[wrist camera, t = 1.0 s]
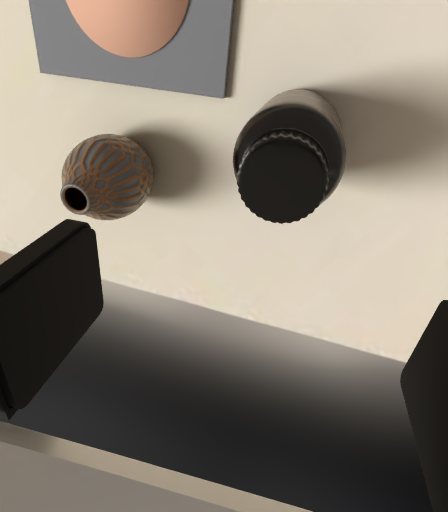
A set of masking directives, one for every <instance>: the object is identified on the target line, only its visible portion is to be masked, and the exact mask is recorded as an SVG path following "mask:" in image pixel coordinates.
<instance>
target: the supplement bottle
mask: <svg viewBox="0 0 448 512" xmlns="http://www.w3.org/2000/svg"><path fill="white" fill-rule="evenodd" d="M345 161H346V151H345V144H344V139H343V134H342V130H341V125H340V121H339V118H338V116H337V113H336V111H335V109H334V108H333V106H332V105H331V104H330V103H329V101H327V100H326V99H325V98H324V97H322V96H321V95H319V94H317V93H315V92H313V91H309V90H303V89H295V90H289V91H286V92H283V93H281V94H278V95H277V96H275V97H274V98H272V99H271V100H270V101H268V102H267V103H266V104H265V105H264V106H263V107H262V108H261V109H260V110H259V111H258V112H257V113H256V114H255V115H254V116H253V117H252V118H251V119H250V120H249V121H248V122H247V123H246V125H245V126H244V128H243V129H242V131H241V132H240V134H239V136H238V138H237V141H236V144H235V148H234V153H233V167H234V173H235V177H236V180H237V185H238V187H239V189H238V192H239V193H240V194H241V199H242V200H243V201H244V202H245V205H246V207H248V208H249V209H250V211H251V212H252V213H255V214H256V215H257V216H258V217H261V218H263V219H264V220H266V221H271V222H273V223H276V222H278V223H281V224H282V223H285V222H286V223H291V222H293V221H299V220H300V219H301V218H305V217H307V216H308V214H310V213H313V211H314V209H315V208H317V207H318V206H319V205H320V204H322V203H323V202H324V201H325V200H326V199H327V198H329V197H330V195H331V194H332V193H333V192H334V191H335V189H336V188H337V186H338V184H339V183H340V180H341V178H342V175H343V172H344V168H345Z"/></svg>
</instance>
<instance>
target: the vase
mask: <svg viewBox="0 0 448 512" xmlns="http://www.w3.org/2000/svg"><path fill="white" fill-rule="evenodd" d="M152 185H153V168H152V164H151V161H150V159H149V157H148V155H147V154H146V152H145V151H144V150H143V149H142V148H141V147H140V146H139V145H138V144H137V143H135V142H134V141H132V140H130V139H128V138H126V137H124V136H120V135H115V134H102V135H97V136H94V137H91V138H88V139H86V140H84V141H83V142H81V143H80V144H78V145H77V146H76V147H75V148H74V149H73V150H72V151H71V153H70V154H69V155H68V157H67V159H66V160H65V163H64V165H63V169H62V186H63V187H62V189H61V193H60V195H61V200H62V202H63V204H64V205H65V207H66V208H67V209H68V210H69V211H71V212H73V213H75V214H80V215H83V214H84V215H86V216H89V217H91V218H94V219H99V220H114V219H119V218H122V217H125V216H127V215H129V214H131V213H133V212H134V211H136V210H137V209H138V208H139V207H140V206H141V205H142V204H143V203H144V202H145V201H146V199H147V198H148V196H149V194H150V191H151V189H152Z"/></svg>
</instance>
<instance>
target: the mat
mask: <svg viewBox="0 0 448 512" xmlns="http://www.w3.org/2000/svg"><path fill="white" fill-rule="evenodd" d="M29 5H30V12H31V18H32V24H33V30H34V36H35V42H36V48H37V55H38V61H39V67H40V73H46V74H53V75H60V76H67V77H74V78H81V79H89V80H96V81H103V82H110V83H117V84H124V85H131V86H138V87H145V88H152V89H159V90H166V91H173V92H181V93H188V94H195V95H202V96H209V97H216V98H223V99H224V98H225V94H226V83H227V72H228V61H229V51H230V40H231V29H232V18H233V7H234V0H29Z"/></svg>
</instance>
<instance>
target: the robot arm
mask: <svg viewBox="0 0 448 512" xmlns="http://www.w3.org/2000/svg"><path fill="white" fill-rule="evenodd" d="M102 308H103V294H102V285H101V276H100V267H99V258H98V250H97V241H96V233H95V231H94V230H93V229H91V227H90V225H89V224H88V223H86V222H81V221H76V220H71V219H66V220H64V221H63V222H61V223H60V224H58V225H57V226H55V227H54V228H53V229H51V230H50V231H48V232H47V233H45V234H44V235H42V236H41V237H40V238H38V239H37V240H35V241H34V242H32V243H31V244H30V245H28V246H27V247H25V248H24V249H22V250H21V251H19V252H18V253H17V254H15V255H14V256H12V257H11V258H10V259H8V260H7V261H5V262H4V263H2V264H1V265H0V418H1V419H4V420H8V421H9V420H10V419H11V417H12V416H13V415H14V414H15V412H16V411H17V410H18V409H22V408H24V407H25V406H26V405H27V404H28V403H29V402H30V401H31V400H32V398H33V397H34V396H35V395H36V393H37V392H38V391H39V390H40V388H41V387H42V386H43V385H44V383H45V382H46V381H47V380H48V378H49V377H50V376H51V375H52V373H53V372H54V371H55V370H56V368H57V367H58V366H59V365H60V363H61V362H62V361H63V360H64V358H65V357H66V356H67V354H68V353H69V352H70V351H71V350H72V348H73V347H74V346H75V345H76V343H77V342H78V340H80V338H81V337H82V336H83V335H84V333H85V332H86V331H87V329H88V328H89V327H90V326H91V324H92V323H93V322H94V321H95V320H96V318H97V317H98V316H99V314H100V313H101V311H102ZM400 382H401V388H402V391H403V396H404V399H405V403H406V407H407V411H408V415H409V419H410V423H411V426H412V430H413V434H414V438H415V442H416V446H417V450H418V453H419V457H420V461H421V465H422V469H423V473H424V477H425V480H426V484H427V488H428V492H429V495H430V500H431V503H432V507H433V511H434V512H448V300H443V301H442V302H441V303H440V304H439V306H438V308H437V309H436V311H435V313H434V315H433V317H432V318H431V320H430V322H429V324H428V326H427V327H426V329H425V331H424V333H423V335H422V336H421V338H420V340H419V342H418V344H417V345H416V347H415V349H414V351H413V353H412V354H411V356H410V358H409V360H408V362H407V363H406V365H405V367H404V369H403V371H402V373H401V381H400ZM0 512H312V511H308V510H305V509H302V508H298V507H295V506H292V505H288V504H285V503H281V502H278V501H275V500H271V499H268V498H264V497H261V496H258V495H254V494H251V493H247V492H244V491H240V490H237V489H234V488H230V487H227V486H223V485H220V484H216V483H213V482H210V481H206V480H203V479H199V478H196V477H193V476H189V475H186V474H182V473H179V472H175V471H172V470H168V469H165V468H161V467H158V466H155V465H151V464H148V463H144V462H140V461H137V460H134V459H130V458H127V457H124V456H120V455H116V454H113V453H110V452H106V451H103V450H99V449H96V448H92V447H89V446H85V445H82V444H78V443H75V442H71V441H67V440H64V439H61V438H57V437H53V436H50V435H47V434H43V433H40V432H36V431H32V430H29V429H25V428H22V427H19V426H15V425H11V424H8V423H5V422H1V421H0Z"/></svg>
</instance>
